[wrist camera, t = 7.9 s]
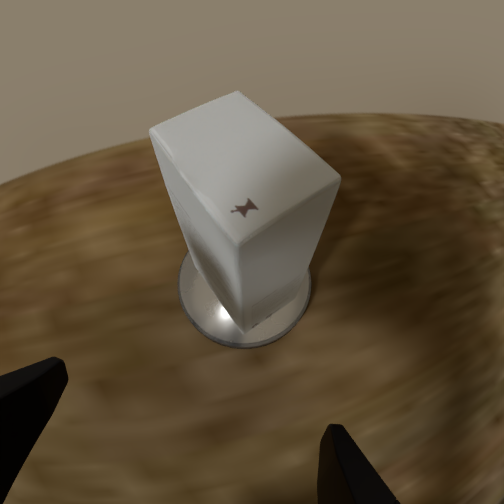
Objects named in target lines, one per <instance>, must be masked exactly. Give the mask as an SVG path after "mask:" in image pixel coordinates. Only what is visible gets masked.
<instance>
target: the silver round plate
mask: <svg viewBox="0 0 504 504" xmlns="http://www.w3.org/2000/svg"><path fill="white" fill-rule="evenodd" d="M310 293H311V275H310V270H309V267H308V269H307V271H306V274H305V276H304V279H303V281H302V284H301V286H300V288H299V291H298V293H297V296H296V298H295V299H294V300H293V301H291V302H290V303H288V304H287V305H286V306H284V307H283V308H282V309H280V310H279V311H277V312H276V313H275V314H273V315H272V316H270V317H269V318H268V319H266V320H265V321H263V322H262V323H260V324H259V325H257V326H256V327H254V328H253V329H252V330H250V331H249V332H247V333H246V334H242V332H241V331H240V330H239V328H238V327H237V325H236V324H235V323H234V321H233V320H232V318H231V317H230V316H229V314H228V313H227V311H226V310H225V309H224V307H223V306H222V304H221V303H220V302H219V300H218V299H217V297H216V296H215V294H214V293H213V292H212V290H211V289H210V287H209V286H208V284H207V283H206V281H205V280H204V278H203V277H202V275H201V274H200V273H199V271H198V270H197V268H196V267H195V265H194V262H193V260H192V257H191V254H190V251H189V250H188V252H187V253H186V255H185V257H184V259H183V261H182V264H181V266H180V270H179V275H178V294H179V299H180V302H181V305H182V308H183V310H184V312H185V314H186V316H187V317H188V319H189V320H190V321H191V323H192V324H193V325H194V326H195V327H196V329H197V330H198V331H199V332H201V333H202V334H203V335H204V336H205V337H207V338H209V339H210V340H212V341H213V342H216V343H218V344H220V345H223V346H227V347H230V348H237V349H251V348H258V347H262V346H266V345H268V344H271V343H273V342H275V341H277V340H279V339H280V338H282V337H283V336H285V335H286V334H287V333H288V332H290V331H291V329H292V328H293V327H294V326H295V325H296V324H297V322H298V321H299V320H300V318H301V317H302V315H303V313H304V311H305V309H306V307H307V304H308V302H309V298H310Z"/></svg>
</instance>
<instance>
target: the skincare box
mask: <svg viewBox="0 0 504 504" xmlns="http://www.w3.org/2000/svg"><path fill="white" fill-rule="evenodd" d="M149 134H150V138H151V141H152V144H153V147H154V150H155V153H156V157H157V160H158V163H159V166H160V169H161V172H162V175H163V179H164V182H165V185H166V187H167V190H168V193H169V196H170V199H171V202H172V205H173V208H174V210H175V213H176V216H177V219H178V222H179V224H180V227H181V230H182V232H183V235H184V238H185V241H186V243H187V246H188V249H189V251H190V254H191V257H192V260H193V262H194V265H195V267H196V268H197V270H198V271H199V273H200V274H201V275H202V277H203V278H204V280H205V281H206V283H207V284H208V286H209V287H210V289H211V290H212V292H213V293H214V294H215V296H216V297H217V299H218V300H219V302H220V303H221V304H222V306H223V307H224V309H225V310H226V311H227V313H228V314H229V316H230V317H231V318H232V320H233V321H234V323H235V324H236V325H237V327H238V328H239V330H240V331H241V332H242V334H246V333H247V332H249V331H250V330H252V329H253V328H254V327H256V326H257V325H259V324H260V323H262V322H263V321H265V320H266V319H268V318H269V317H270V316H272V315H273V314H275V313H276V312H277V311H279V310H280V309H282V308H283V307H284V306H286V305H287V304H288V303H290V302H291V301H293V300H294V299H295V298H296V296H297V293H298V291H299V288H300V286H301V284H302V281H303V279H304V276H305V274H306V271H307V269H308V267H309V264H310V262H311V259H312V257H313V254H314V252H315V249H316V246H317V244H318V242H319V239H320V236H321V234H322V231H323V229H324V226H325V223H326V221H327V218H328V215H329V213H330V210H331V207H332V205H333V202H334V200H335V197H336V194H337V191H338V189H339V186H340V183H341V176H340V174H338V173H337V172H336V171H335V170H334V169H333V168H332V167H331V166H329V165H328V164H327V163H326V162H325V161H324V160H323V159H322V158H320V157H319V156H318V155H317V154H316V153H315V152H314V151H313V150H312V149H310V148H309V147H308V146H307V145H306V144H305V143H303V142H302V141H301V140H300V139H299V138H297V137H296V136H295V135H294V134H293V133H292V132H290V131H289V130H288V129H287V128H285V127H284V126H283V125H282V124H281V123H279V122H278V121H277V120H276V119H274V118H273V117H272V116H271V115H269V114H268V113H267V112H265V111H264V110H263V109H262V108H260V107H259V106H258V105H257V104H255V103H254V102H253V101H251V100H250V99H249V98H247V97H246V96H245V95H243V94H242V93H241V92H240V91H235V92H233V93H230V94H227V95H225V96H222V97H220V98H217V99H215V100H212V101H210V102H208V103H205V104H203V105H201V106H198V107H196V108H193V109H191V110H189V111H186V112H184V113H182V114H180V115H178V116H175V117H173V118H171V119H169V120H167V121H164V122H162V123H160V124H158V125H156V126H154V127H152V128H150V130H149Z"/></svg>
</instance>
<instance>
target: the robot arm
mask: <svg viewBox="0 0 504 504" xmlns="http://www.w3.org/2000/svg"><path fill="white" fill-rule="evenodd" d="M67 383H68V374H67V370H66V366H65V363H64V361H63V360H62V359H59V358H57V357H51V358H48V359H45V360H43V361H40V362H37V363H34V364H32V365H29V366H26V367H24V368H21V369H18V370H15V371H13V372H10V373H7V374H4V375H2V376H0V504H3V502H4V500H5V498H6V496H7V494H8V492H9V490H10V488H11V486H12V484H13V483H14V481H15V479H16V477H17V475H18V473H19V471H20V469H21V468H22V466H23V464H24V462H25V460H26V459H27V457H28V455H29V453H30V451H31V450H32V448H33V446H34V444H35V443H36V441H37V439H38V438H39V436H40V434H41V433H42V431H43V429H44V428H45V426H46V424H47V423H48V421H49V419H50V418H51V416H52V414H53V412H54V410H55V408H56V406H57V404H58V402H59V399H60V397H61V395H62V393H63V391H64V389H65V387H66V385H67ZM317 495H318V504H400V502H399V501H398V500H396V497H395V496H394V495H393V493H392V492H391V491H390V489H389V488H388V487H387V485H386V484H385V483H384V481H383V480H382V479H381V477H380V476H379V475H378V473H377V472H376V470H375V469H374V468H373V466H372V465H371V464H370V462H369V461H368V460H367V458H366V457H365V455H364V454H363V453H362V451H361V450H360V449H359V447H358V446H357V444H356V443H355V442H354V440H353V439H352V438H351V436H350V435H349V433H348V432H347V431H346V429H345V428H344V427H343V425H341V424H329V425H328V427H327V429H326V431H325V433H324V435H323V437H322V439H321V442H320V453H319V467H318V479H317Z"/></svg>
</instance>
